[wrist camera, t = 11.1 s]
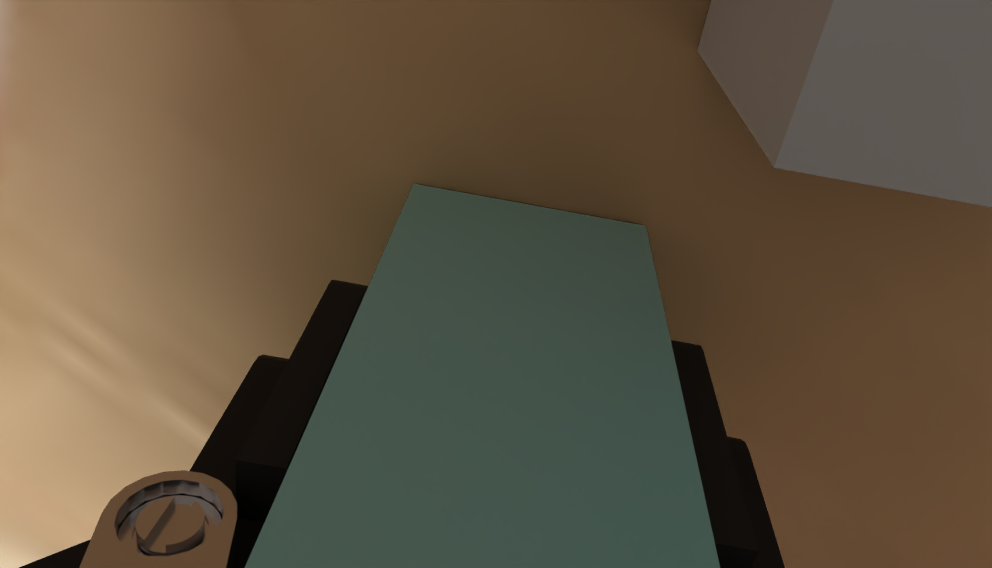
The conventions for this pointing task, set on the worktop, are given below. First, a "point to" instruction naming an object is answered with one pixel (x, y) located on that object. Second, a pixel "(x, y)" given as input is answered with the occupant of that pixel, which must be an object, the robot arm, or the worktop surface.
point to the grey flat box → (863, 88)
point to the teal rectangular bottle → (498, 406)
